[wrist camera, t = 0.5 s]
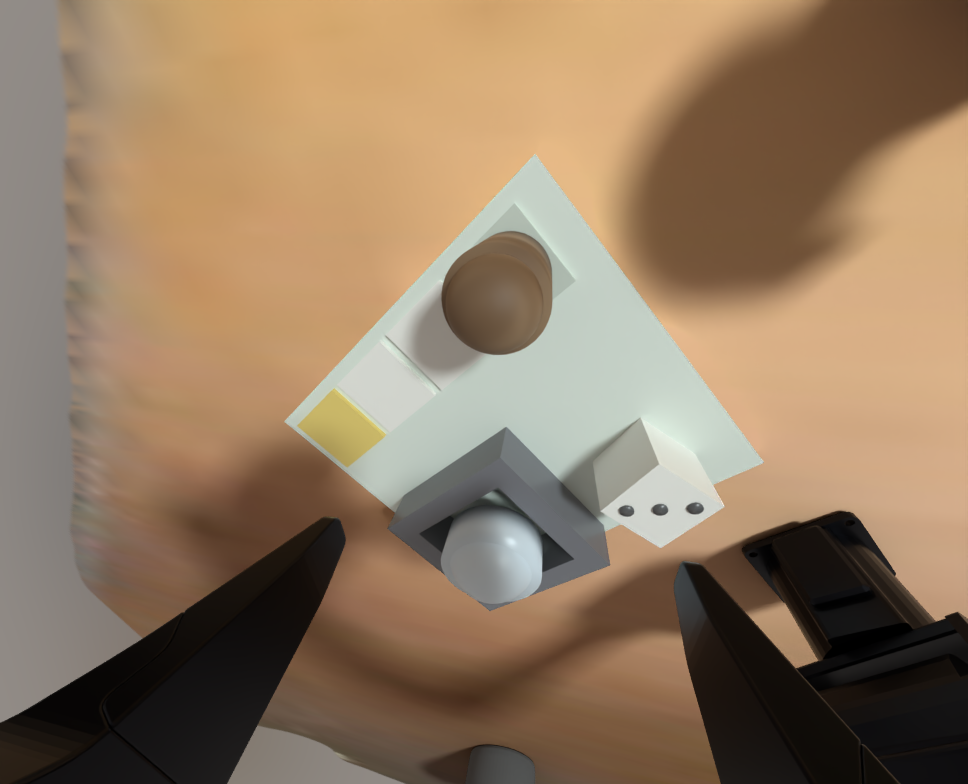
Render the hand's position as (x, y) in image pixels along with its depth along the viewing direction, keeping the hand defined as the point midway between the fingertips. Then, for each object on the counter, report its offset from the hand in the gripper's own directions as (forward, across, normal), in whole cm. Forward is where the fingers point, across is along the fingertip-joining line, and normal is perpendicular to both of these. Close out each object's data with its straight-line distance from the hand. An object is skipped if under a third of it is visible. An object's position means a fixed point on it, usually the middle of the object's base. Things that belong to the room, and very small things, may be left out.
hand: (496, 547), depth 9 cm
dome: (+11, +2, +11) cm, 16 cm away
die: (+12, -7, +6) cm, 15 cm away
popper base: (+13, +2, +11) cm, 17 cm away
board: (+13, +2, +5) cm, 14 cm away
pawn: (+11, +1, -5) cm, 12 cm away
